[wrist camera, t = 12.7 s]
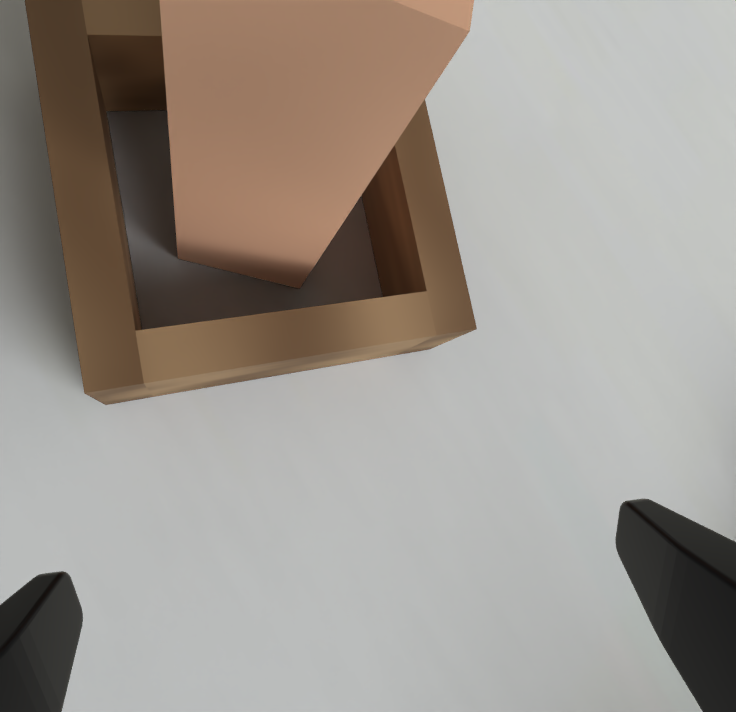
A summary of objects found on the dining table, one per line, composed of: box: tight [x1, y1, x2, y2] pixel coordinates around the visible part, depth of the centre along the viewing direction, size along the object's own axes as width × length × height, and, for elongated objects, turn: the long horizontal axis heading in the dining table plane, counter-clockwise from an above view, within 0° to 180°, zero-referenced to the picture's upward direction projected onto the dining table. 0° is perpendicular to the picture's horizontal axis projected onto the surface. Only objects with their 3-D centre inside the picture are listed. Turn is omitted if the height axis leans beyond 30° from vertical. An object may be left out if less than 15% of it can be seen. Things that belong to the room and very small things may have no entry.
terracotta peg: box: [159, 0, 474, 289], centre depth 15 cm, size 4×4×14 cm
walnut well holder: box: [25, 0, 477, 405], centre depth 20 cm, size 12×12×4 cm
